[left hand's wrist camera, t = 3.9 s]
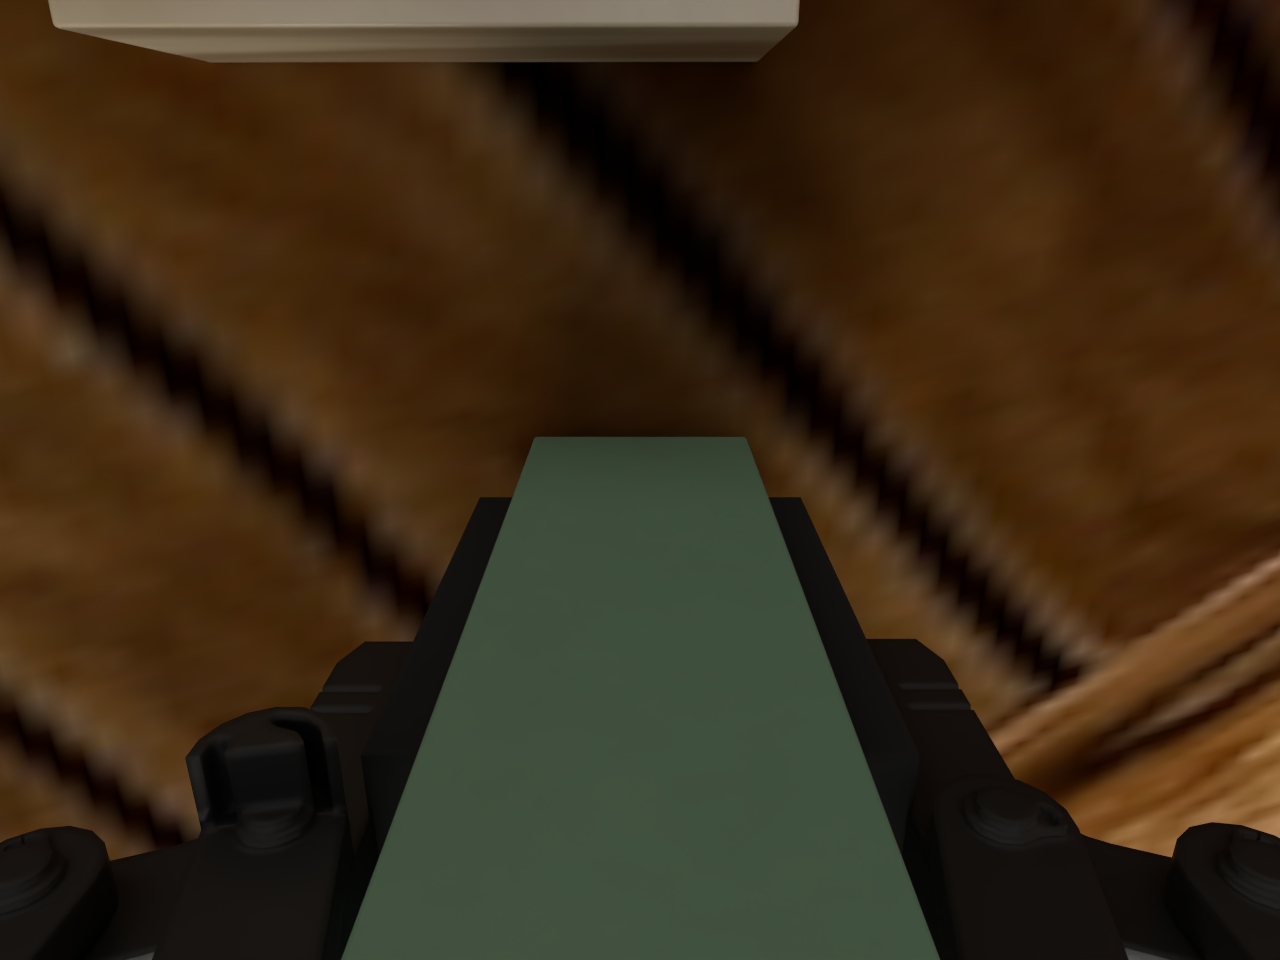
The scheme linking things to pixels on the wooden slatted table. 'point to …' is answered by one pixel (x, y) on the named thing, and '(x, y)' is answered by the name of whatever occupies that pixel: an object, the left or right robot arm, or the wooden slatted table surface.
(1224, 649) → the wooden slatted table surface
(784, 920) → the peg
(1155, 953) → the left robot arm
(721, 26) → the peg board
